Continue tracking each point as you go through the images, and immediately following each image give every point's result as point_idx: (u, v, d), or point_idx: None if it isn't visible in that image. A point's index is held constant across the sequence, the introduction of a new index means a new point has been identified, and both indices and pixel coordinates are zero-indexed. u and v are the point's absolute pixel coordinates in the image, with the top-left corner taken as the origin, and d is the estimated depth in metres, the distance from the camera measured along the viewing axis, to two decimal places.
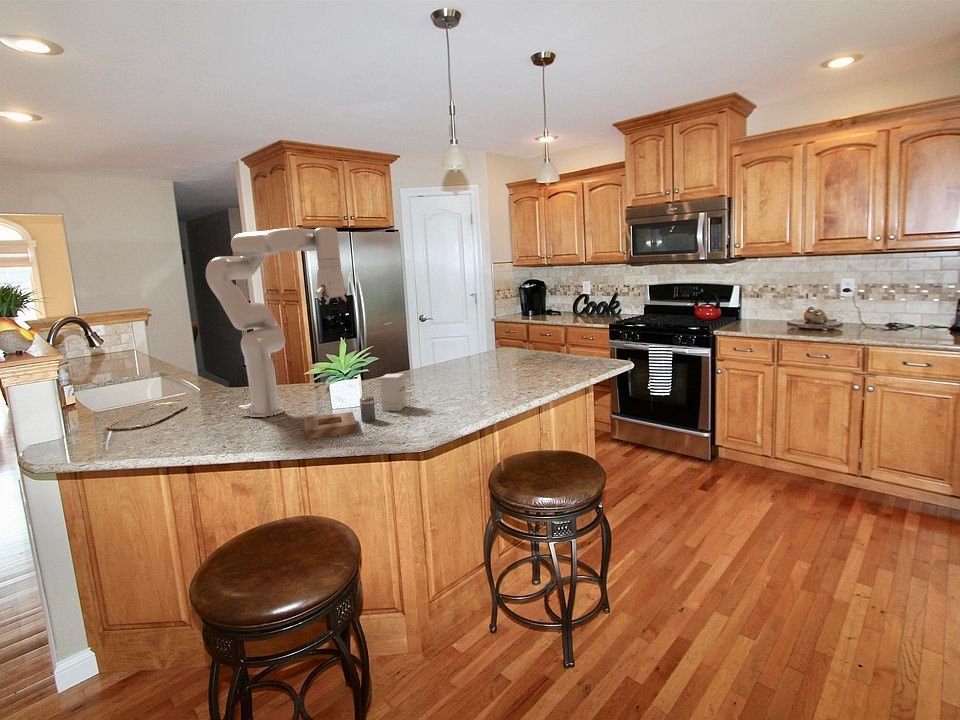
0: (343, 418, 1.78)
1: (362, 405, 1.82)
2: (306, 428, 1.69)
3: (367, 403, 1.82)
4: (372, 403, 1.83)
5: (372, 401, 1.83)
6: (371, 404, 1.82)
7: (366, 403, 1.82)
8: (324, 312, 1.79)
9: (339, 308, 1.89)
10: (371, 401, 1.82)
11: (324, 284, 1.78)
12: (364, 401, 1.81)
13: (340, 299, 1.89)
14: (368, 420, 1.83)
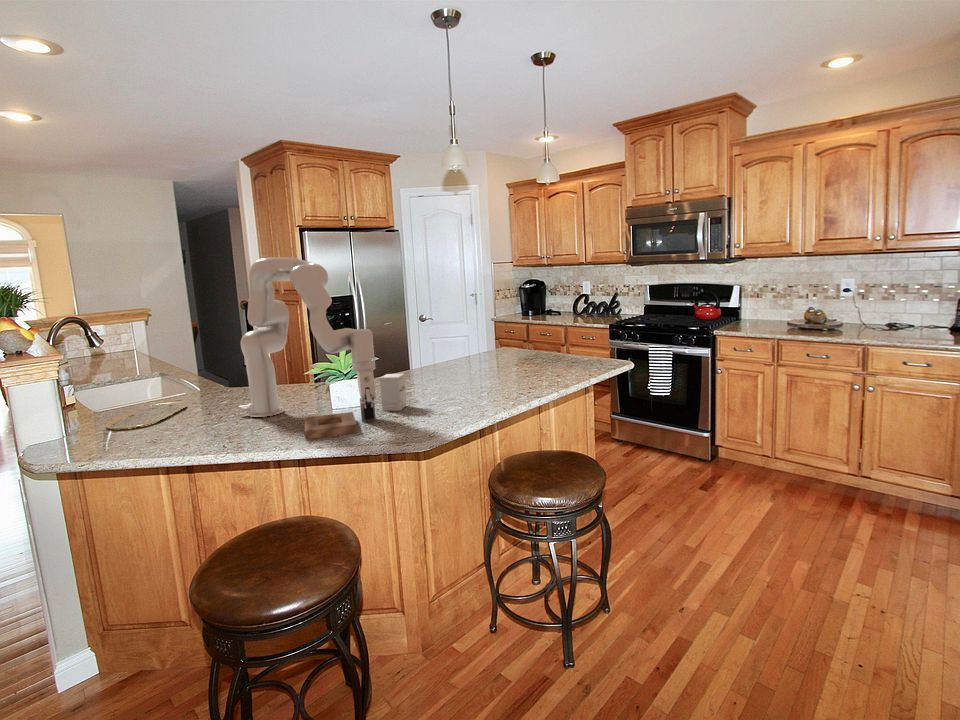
0: (343, 418, 1.78)
1: (362, 405, 1.82)
2: (306, 428, 1.69)
3: None
4: (372, 403, 1.83)
5: (372, 401, 1.83)
6: None
7: None
8: None
9: None
10: None
11: None
12: None
13: None
14: (368, 420, 1.83)
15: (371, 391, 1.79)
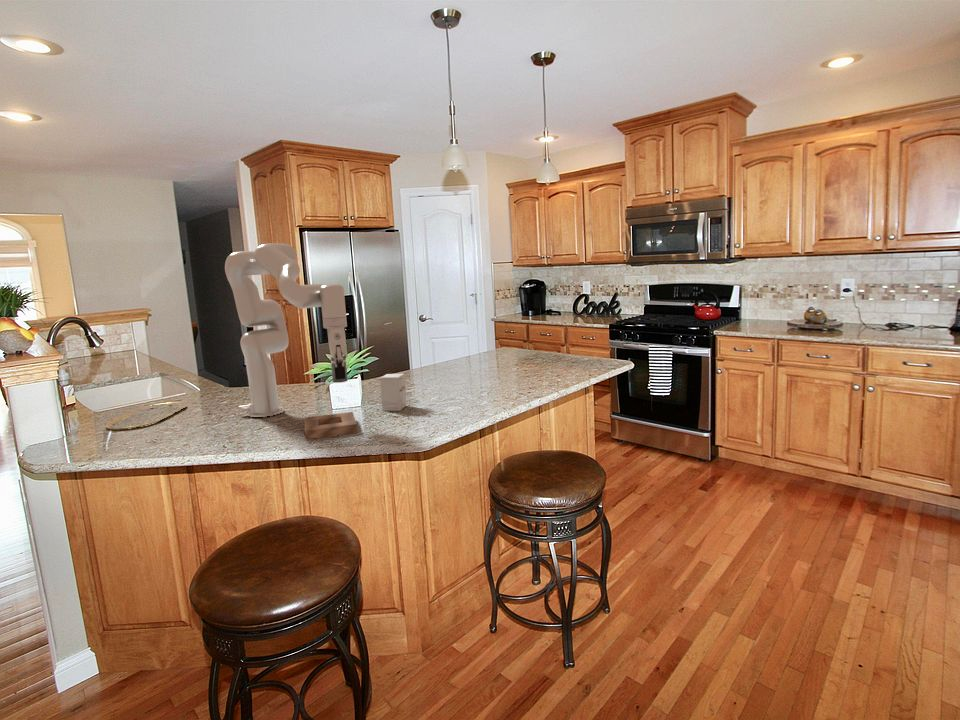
0: (343, 418, 1.78)
1: (333, 364, 1.74)
2: (306, 428, 1.69)
3: None
4: (344, 362, 1.75)
5: (344, 360, 1.75)
6: None
7: None
8: None
9: None
10: (343, 360, 1.74)
11: None
12: None
13: None
14: (339, 380, 1.75)
15: (342, 349, 1.71)
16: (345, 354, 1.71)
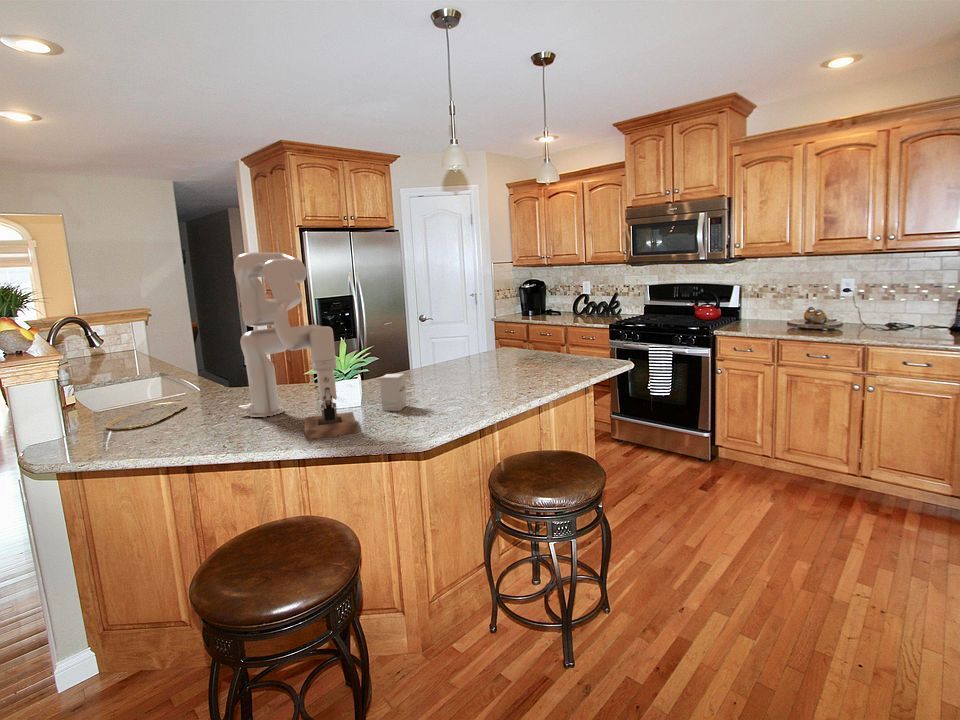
0: (343, 418, 1.78)
1: (323, 412, 1.73)
2: (306, 428, 1.69)
3: None
4: (334, 410, 1.74)
5: (334, 407, 1.74)
6: None
7: None
8: None
9: None
10: None
11: None
12: None
13: None
14: None
15: (331, 392, 1.70)
16: (334, 397, 1.70)
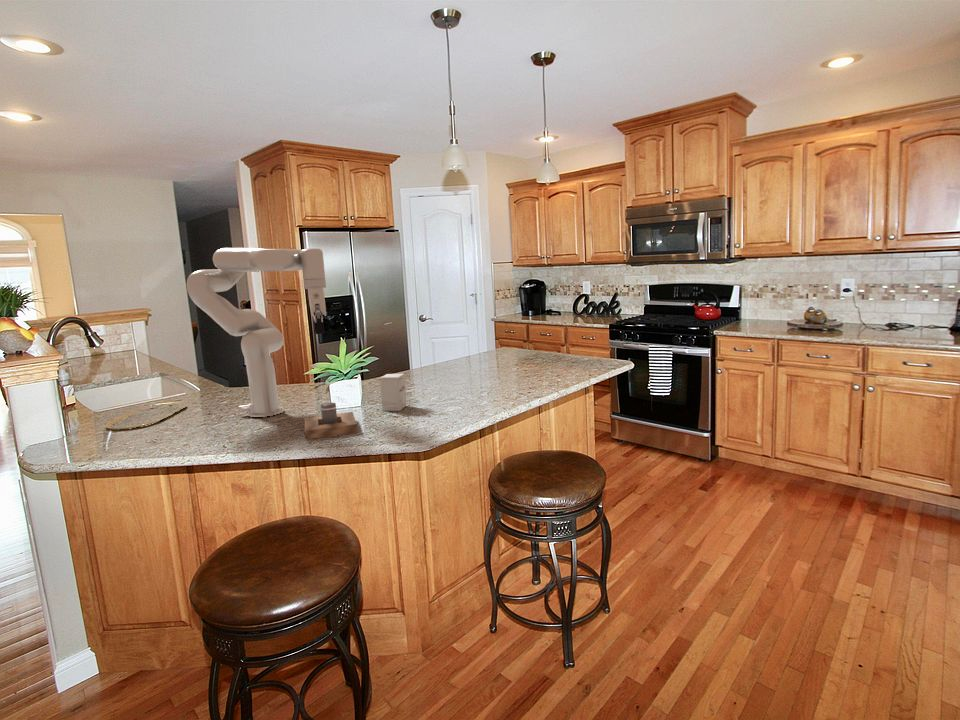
0: (343, 418, 1.78)
1: (323, 412, 1.73)
2: (306, 428, 1.69)
3: (328, 410, 1.73)
4: (334, 410, 1.74)
5: (334, 407, 1.74)
6: (332, 410, 1.74)
7: (327, 410, 1.73)
8: None
9: None
10: (333, 407, 1.74)
11: None
12: (325, 408, 1.73)
13: None
14: None
15: (321, 308, 1.85)
16: (324, 312, 1.86)
